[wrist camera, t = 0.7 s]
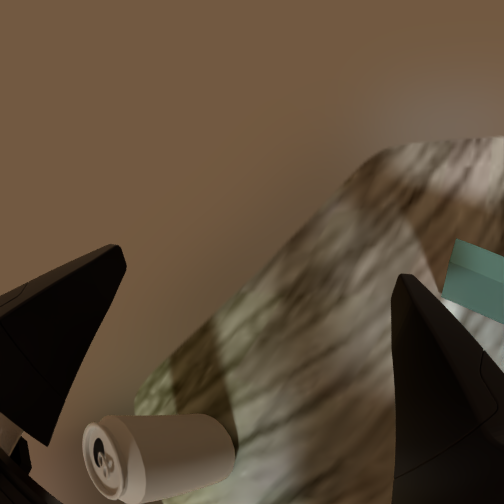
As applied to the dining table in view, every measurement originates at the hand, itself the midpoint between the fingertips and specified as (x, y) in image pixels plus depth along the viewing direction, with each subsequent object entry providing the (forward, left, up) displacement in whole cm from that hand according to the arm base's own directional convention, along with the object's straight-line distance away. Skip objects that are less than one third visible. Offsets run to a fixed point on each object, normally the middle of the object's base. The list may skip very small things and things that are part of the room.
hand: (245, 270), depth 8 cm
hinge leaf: (-6, -11, -14) cm, 19 cm away
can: (-6, +17, -15) cm, 23 cm away
